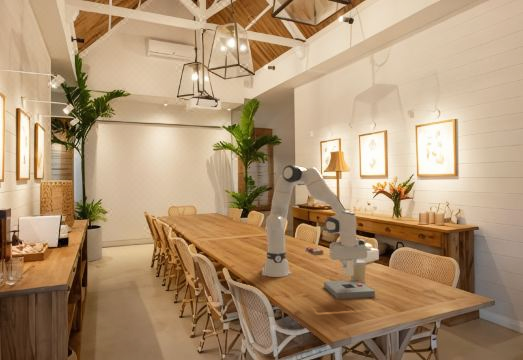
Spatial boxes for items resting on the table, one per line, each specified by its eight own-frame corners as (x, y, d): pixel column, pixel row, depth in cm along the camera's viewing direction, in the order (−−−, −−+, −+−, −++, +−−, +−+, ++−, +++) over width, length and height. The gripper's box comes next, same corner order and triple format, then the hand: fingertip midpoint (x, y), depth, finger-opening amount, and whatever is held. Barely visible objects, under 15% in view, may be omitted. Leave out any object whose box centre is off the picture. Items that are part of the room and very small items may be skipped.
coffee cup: (367, 280, 206) (367, 260, 206) (363, 284, 197) (363, 263, 198) (352, 278, 210) (352, 258, 210) (347, 282, 202) (347, 261, 202)
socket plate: (324, 287, 193) (324, 280, 194) (358, 285, 197) (358, 278, 197) (337, 299, 174) (337, 291, 174) (374, 296, 177) (374, 289, 177)
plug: (342, 272, 189) (342, 257, 189) (348, 272, 190) (348, 257, 190) (347, 276, 183) (347, 260, 183) (353, 275, 183) (353, 260, 183)
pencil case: (311, 257, 271) (311, 250, 271) (304, 252, 290) (304, 246, 290) (325, 256, 272) (324, 250, 272) (317, 251, 292) (317, 245, 292)
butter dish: (365, 265, 245) (365, 242, 245) (344, 260, 258) (344, 239, 259) (378, 261, 256) (378, 239, 256) (357, 257, 270) (357, 236, 270)
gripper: (331, 243, 181) (332, 269, 180) (368, 241, 184) (369, 267, 184) (327, 241, 187) (327, 266, 187) (363, 239, 190) (363, 265, 190)
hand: (348, 267), depth 185 cm, fingers closed on plug, 3 cm apart
